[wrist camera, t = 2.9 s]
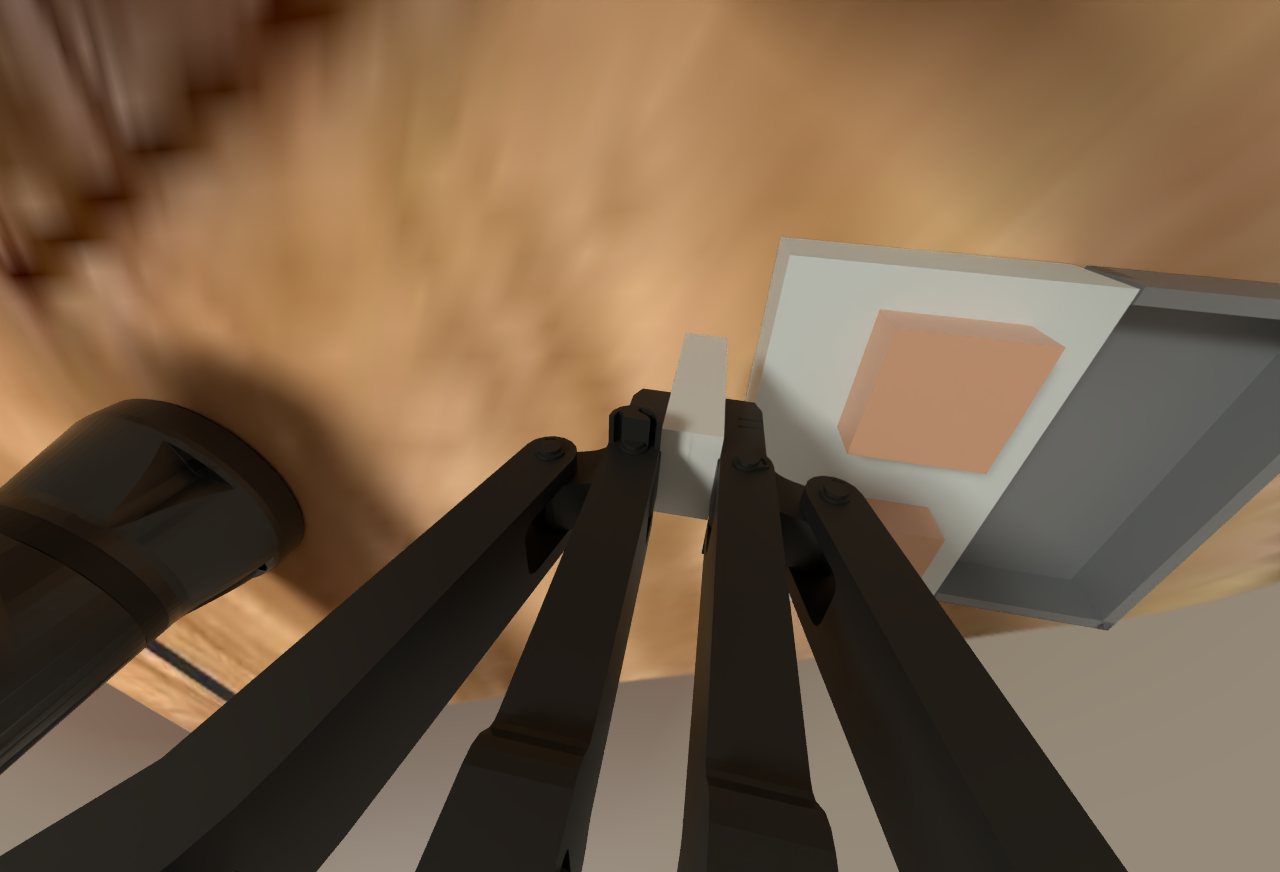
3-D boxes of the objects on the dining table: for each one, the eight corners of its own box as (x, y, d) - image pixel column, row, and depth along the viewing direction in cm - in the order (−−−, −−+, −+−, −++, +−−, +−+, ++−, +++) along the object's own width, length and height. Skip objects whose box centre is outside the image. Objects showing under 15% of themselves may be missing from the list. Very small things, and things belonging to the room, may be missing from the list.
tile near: (836, 426, 19) (846, 454, 17) (879, 309, 16) (896, 328, 14) (963, 443, 18) (986, 474, 17) (1030, 325, 16) (1065, 347, 14)
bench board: (714, 541, 29) (712, 587, 26) (781, 236, 18) (790, 255, 16) (895, 572, 27) (914, 623, 24) (1072, 264, 17) (1139, 289, 14)
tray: (914, 556, 26) (932, 600, 24) (1086, 265, 17) (1145, 287, 15) (1071, 582, 26) (1107, 630, 23) (1342, 289, 16) (1450, 316, 14)
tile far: (787, 562, 24) (792, 594, 22) (814, 489, 21) (821, 520, 19) (887, 579, 23) (899, 613, 21) (927, 507, 20) (945, 539, 19)
